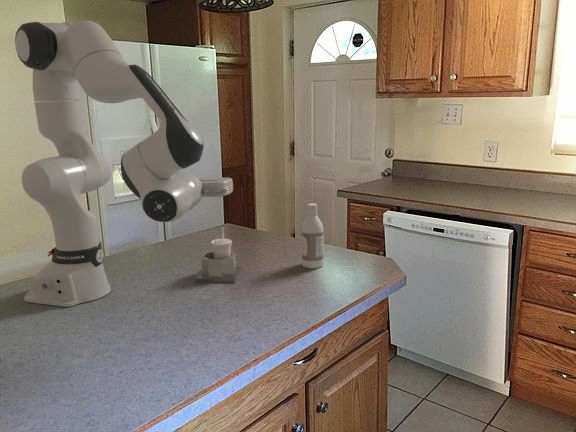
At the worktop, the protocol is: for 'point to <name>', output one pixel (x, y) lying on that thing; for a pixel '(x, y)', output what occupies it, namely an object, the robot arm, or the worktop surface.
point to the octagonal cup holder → (218, 269)
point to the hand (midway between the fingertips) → (199, 181)
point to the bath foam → (312, 239)
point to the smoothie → (221, 247)
